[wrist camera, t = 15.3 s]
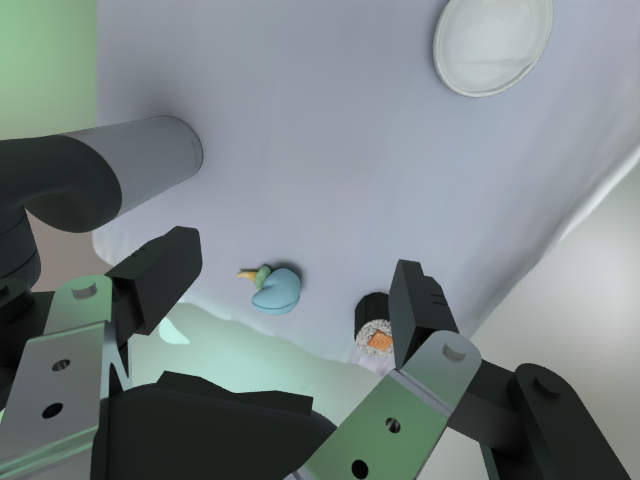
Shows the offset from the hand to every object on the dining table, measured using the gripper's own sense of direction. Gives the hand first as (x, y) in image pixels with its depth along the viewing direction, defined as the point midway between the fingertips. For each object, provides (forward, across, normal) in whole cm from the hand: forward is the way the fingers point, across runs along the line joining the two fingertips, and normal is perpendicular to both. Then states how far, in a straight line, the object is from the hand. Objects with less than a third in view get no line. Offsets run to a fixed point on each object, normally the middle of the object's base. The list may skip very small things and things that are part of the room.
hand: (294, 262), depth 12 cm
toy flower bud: (+33, +9, +26) cm, 43 cm away
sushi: (+33, -11, +30) cm, 46 cm away
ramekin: (+33, -14, -12) cm, 38 cm away
